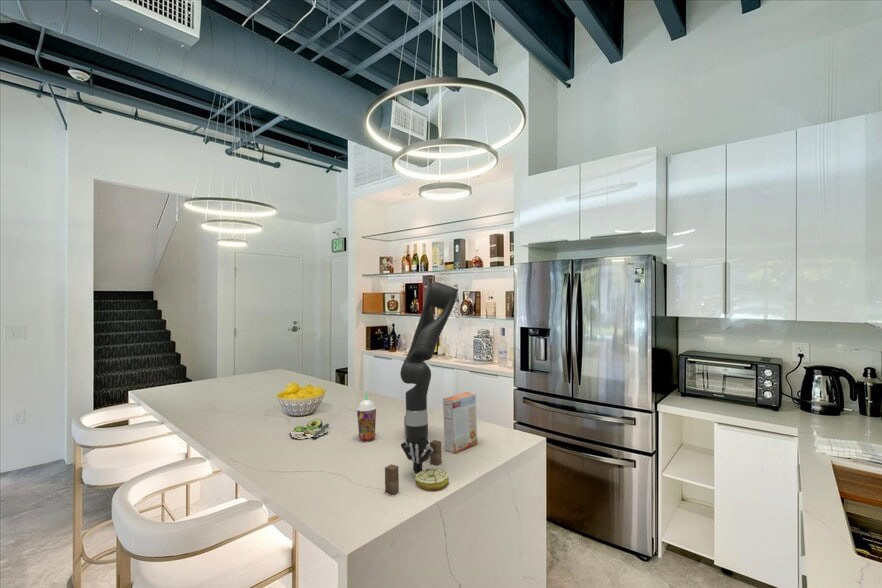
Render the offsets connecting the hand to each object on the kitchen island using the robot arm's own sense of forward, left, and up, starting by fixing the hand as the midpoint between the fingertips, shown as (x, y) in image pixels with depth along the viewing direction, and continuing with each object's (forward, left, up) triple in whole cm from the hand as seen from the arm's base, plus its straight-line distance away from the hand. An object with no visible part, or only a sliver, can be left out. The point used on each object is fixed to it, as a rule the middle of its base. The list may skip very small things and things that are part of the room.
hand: (417, 473), depth 136 cm
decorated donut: (+7, -1, -2) cm, 7 cm away
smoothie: (-41, +19, -2) cm, 45 cm away
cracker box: (-1, +31, -2) cm, 31 cm away
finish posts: (-1, 0, -2) cm, 2 cm away
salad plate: (-71, +13, -2) cm, 72 cm away
